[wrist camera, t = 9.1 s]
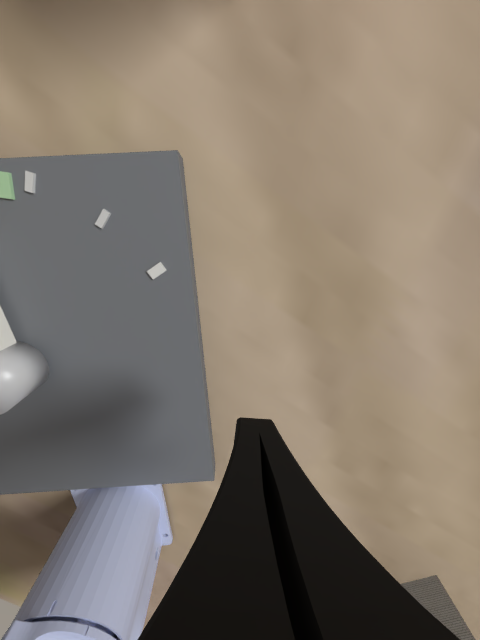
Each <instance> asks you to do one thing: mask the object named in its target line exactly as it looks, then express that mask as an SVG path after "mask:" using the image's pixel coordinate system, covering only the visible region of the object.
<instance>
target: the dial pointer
mask: <svg viewBox="0 0 480 640" xmlns="http://www.w3.org/2000/svg"><path fill="white" fill-rule="evenodd" d="M48 374H49V367H48V363H47V361H46V359H45V357H44V356H43V355H42V353H41V352H40V351H38V350H37V349H36V348H34V347H33V346H31V345H29V344H27V343H24V342H20V341H16V339H15V337H14V335H13V333H12V330H11V328H10V326H9V324H8V322H7V319H6V317H5V315H4V313H3V310H2V308H1V306H0V415H1V414H4V413H6V412H7V411H9V410H10V409H11V408H12V407H14V406H15V405H16V404H17V403H19V402H20V401H21V400H23V399H24V398H25V397H26V396H28V395H29V394H30V393H31V392H33V391H34V390H35V389H36V388H38V387H39V386H40V385H41V384H43V383H44V382H45V381H46V379H47V377H48Z"/></svg>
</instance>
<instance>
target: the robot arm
mask: <svg viewBox="0 0 480 640" xmlns="http://www.w3.org/2000/svg"><path fill="white" fill-rule="evenodd" d="M70 491H71V494H72V496H73V499H74V502H75V504H76V507H77V509H76V510H75V512H74V514H73V516H72V517H71V519H70V521H69V523H68V525H67V526H66V528H65V530H64V532H63V533H62V535H61V537H60V539H59V541H58V542H57V544H56V546H55V548H54V549H53V551H52V553H51V555H50V556H49V558H48V560H47V562H46V564H45V565H44V567H43V569H42V571H41V572H40V574H39V576H38V578H37V580H36V581H35V583H34V585H33V587H32V588H31V590H30V592H29V594H28V595H27V597H26V599H25V601H24V603H23V604H22V606H21V608H20V610H19V611H18V614H17V615H16V617H15V619H14V620H13V622H12V624H11V626H10V627H9V629H8V630H7V631H6V633H5V634H4V636H3V637H2V639H1V640H460V639H459V638H458V637H457V636H456V635H455V634H453V633H452V632H451V631H450V630H449V629H448V628H447V627H446V626H444V625H443V624H442V623H441V622H440V621H439V620H438V619H437V618H435V617H434V616H433V615H432V614H431V613H430V612H429V611H428V610H427V609H426V608H424V607H423V606H422V605H421V604H420V603H419V602H418V601H417V600H416V599H415V598H414V597H413V596H412V595H411V594H410V593H409V592H408V591H407V590H406V589H405V588H404V587H403V586H402V585H400V584H399V583H398V582H397V581H396V580H395V579H394V578H393V577H392V576H391V575H390V574H389V572H388V571H387V570H386V569H385V568H384V567H383V566H382V565H381V564H380V563H379V562H378V561H377V560H376V559H375V558H374V557H373V556H372V555H371V554H370V553H369V552H368V551H367V550H366V548H365V547H364V546H363V545H362V544H361V543H360V542H359V541H358V540H357V539H356V538H355V536H354V535H353V534H352V533H351V532H350V531H349V530H348V528H347V527H346V526H345V525H344V524H343V523H342V522H341V520H340V519H339V518H338V517H337V515H336V514H335V513H334V512H333V511H332V509H331V508H330V507H329V506H328V504H327V503H326V502H325V501H324V499H323V498H322V497H321V495H320V494H319V493H318V491H317V490H316V489H315V487H314V486H313V485H312V483H311V482H310V480H309V479H308V478H307V476H306V475H305V473H304V472H303V470H302V469H301V467H300V466H299V464H298V463H297V461H296V460H295V458H294V457H293V455H292V454H291V452H290V450H289V449H288V447H287V445H286V444H285V442H284V440H283V439H282V437H281V435H280V434H279V432H278V430H277V428H276V426H275V425H274V423H273V421H272V420H270V419H255V418H239V419H237V424H236V431H235V439H234V447H233V450H232V453H231V457H230V460H229V463H228V466H227V469H226V472H225V475H224V477H223V480H222V483H221V485H220V488H219V490H218V493H217V495H216V498H215V500H214V502H213V504H212V507H211V509H210V511H209V513H208V515H207V518H206V520H205V522H204V524H203V526H202V528H201V530H200V532H199V534H198V536H197V538H196V540H195V542H194V544H193V546H192V548H191V549H190V551H189V553H188V555H187V557H186V559H185V560H184V562H183V564H182V566H181V568H180V569H179V571H178V573H177V575H176V576H175V578H174V580H173V582H172V584H171V585H170V587H169V589H168V591H167V592H166V594H165V596H164V597H163V599H162V601H161V603H160V604H159V606H158V607H157V609H156V611H155V612H154V614H153V615H152V617H151V619H150V620H149V622H148V624H147V625H146V627H145V628H144V630H143V626H144V622H145V618H146V614H147V609H148V605H149V600H150V596H151V591H152V587H153V582H154V578H155V573H156V569H157V564H158V560H159V555H160V551H161V546H162V545H169V544H171V543H172V540H173V536H172V531H171V527H170V522H169V517H168V512H167V507H166V502H165V498H164V493H163V488H162V484H153V485H138V486H123V487H108V488H92V489H77V490H70ZM142 630H143V632H142Z"/></svg>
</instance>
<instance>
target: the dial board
mask: <svg viewBox="0 0 480 640" xmlns="http://www.w3.org/2000/svg"><path fill="white" fill-rule="evenodd" d="M0 306H1V308H2V310H3V313H4V315H5V317H6V319H7V322H8V324H9V326H10V328H11V330H12V333H13V335H14V337H15V339H16V341H20V342H24V343H27V344H29V345H31V346H33V347H34V348H36V349H37V350H38V351H40V352H41V353H42V355H43V356H44V357H45V359H46V361H47V363H48V367H49V374H48V377H47V379H46V381H45V382H44V383H43V384H41V385H40V386H39V387H38V388H36V389H35V390H34V391H33V392H31V393H30V394H29V395H28V396H26V397H25V398H24V399H23V400H21V401H20V402H19V403H17V404H16V405H15V406H14V407H12V408H11V409H10V410H9V411H7V412H6V413H4V414H1V415H0V495H1V494H16V493H31V492H47V491H62V490H77V489H92V488H108V487H123V486H138V485H153V484H169V483H184V482H199V481H214V476H215V458H214V448H213V439H212V430H211V420H210V411H209V401H208V392H207V383H206V373H205V364H204V355H203V345H202V336H201V326H200V317H199V308H198V298H197V289H196V280H195V270H194V261H193V251H192V242H191V233H190V223H189V214H188V205H187V195H186V186H185V176H184V167H183V158H182V157H181V155H180V154H179V152H178V151H177V150H173V151H152V152H130V153H108V154H86V155H64V156H42V157H21V158H0Z"/></svg>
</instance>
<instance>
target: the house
mask: <svg viewBox="0 0 480 640" xmlns="http://www.w3.org/2000/svg"><path fill="white" fill-rule="evenodd" d="M400 585H402V586H403V587H404V588H405V589H406V590H407V591H408V592H409V593H410V594H411V595H412V596H413V597H414V598H415V599H416V600H417V601H418V602H419V603H420V604H421V605H422V606H423V607H424V608H426V609H427V610H428V611H429V612H430V613H431V614H432V615H433V616H434V617H435V618H437V619H438V620H439V621H440V622H441V623H442V624H443V625H444V626H446V627H447V628H448V629H449V630H450V631H451V632H452V633H453V634H455V635H456V636H457V637H458V638H459V639H460V640H475V638H474V637H473V635H472V633H471V632H470V630H469V628H468V627H467V625H466V623H465V622H464V620H463V618H462V617H461V615H460V613H459V612H458V610H457V608H456V607H455V605H454V603H453V602H452V600H451V598H450V597H449V595H448V593H447V592H446V590H445V588H444V587H443V585H442V583H441V582H440V580H439V578H438V577H437V575H435V576H431V577H427V578H423V579H419V580H415V581H411V582H407V583H403V584H400Z"/></svg>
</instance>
